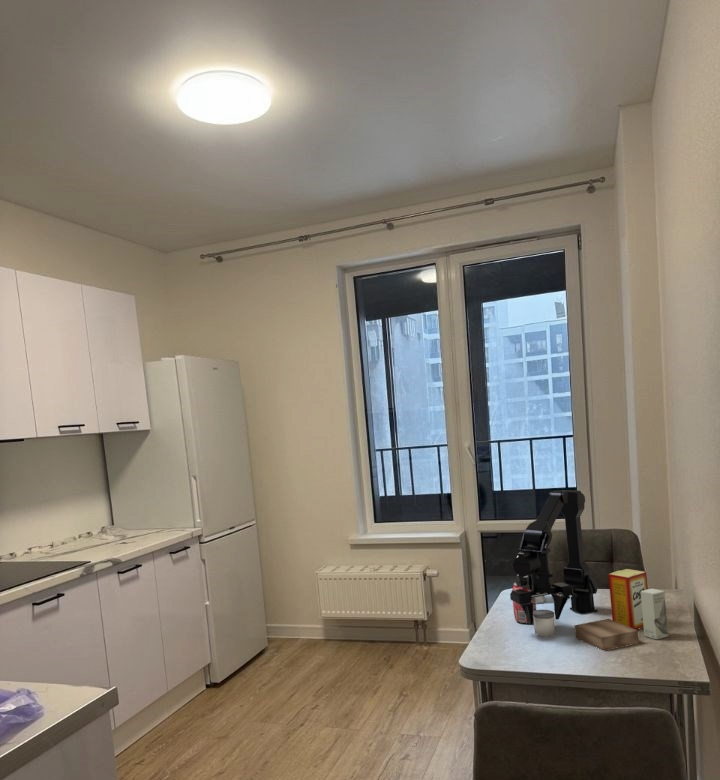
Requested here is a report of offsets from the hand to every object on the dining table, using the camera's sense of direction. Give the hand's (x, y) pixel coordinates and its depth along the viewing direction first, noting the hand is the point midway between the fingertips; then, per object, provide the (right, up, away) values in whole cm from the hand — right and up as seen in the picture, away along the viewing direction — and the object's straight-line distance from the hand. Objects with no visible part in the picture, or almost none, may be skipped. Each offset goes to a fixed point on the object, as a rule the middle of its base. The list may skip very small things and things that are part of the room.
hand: (544, 621), depth 191 cm
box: (+29, -1, -10) cm, 31 cm away
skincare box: (+5, -5, +33) cm, 34 cm away
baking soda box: (+27, -2, +1) cm, 27 cm away
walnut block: (+15, -2, -10) cm, 18 cm away
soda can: (-3, -4, +11) cm, 13 cm away
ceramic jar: (0, -3, 0) cm, 3 cm away
